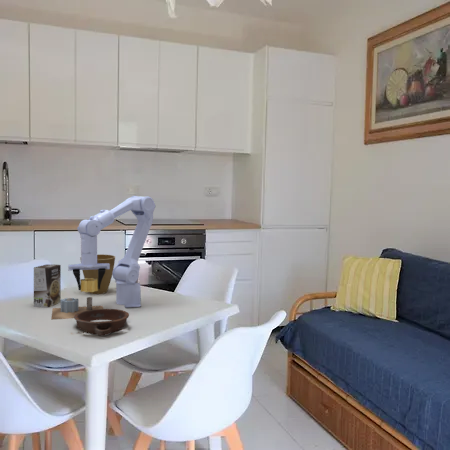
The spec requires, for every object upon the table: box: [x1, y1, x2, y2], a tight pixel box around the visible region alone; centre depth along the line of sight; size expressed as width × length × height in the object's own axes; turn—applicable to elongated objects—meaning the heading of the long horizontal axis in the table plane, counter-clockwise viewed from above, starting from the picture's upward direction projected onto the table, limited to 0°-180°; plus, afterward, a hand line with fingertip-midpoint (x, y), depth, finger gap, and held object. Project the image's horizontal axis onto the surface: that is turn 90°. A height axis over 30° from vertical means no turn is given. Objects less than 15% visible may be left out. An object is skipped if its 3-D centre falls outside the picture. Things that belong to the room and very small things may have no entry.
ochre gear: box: [80, 278, 98, 293], centre depth 178 cm, size 6×6×4 cm
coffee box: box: [33, 264, 62, 309], centre depth 185 cm, size 9×6×16 cm
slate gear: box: [60, 297, 79, 313], centre depth 177 cm, size 6×6×4 cm
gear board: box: [50, 296, 104, 320], centre depth 175 cm, size 18×16×6 cm
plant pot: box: [79, 253, 116, 295], centre depth 213 cm, size 15×15×16 cm
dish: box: [73, 308, 130, 337], centre depth 159 cm, size 18×22×5 cm
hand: (89, 289), depth 178 cm, fingers closed on ochre gear, 6 cm apart
